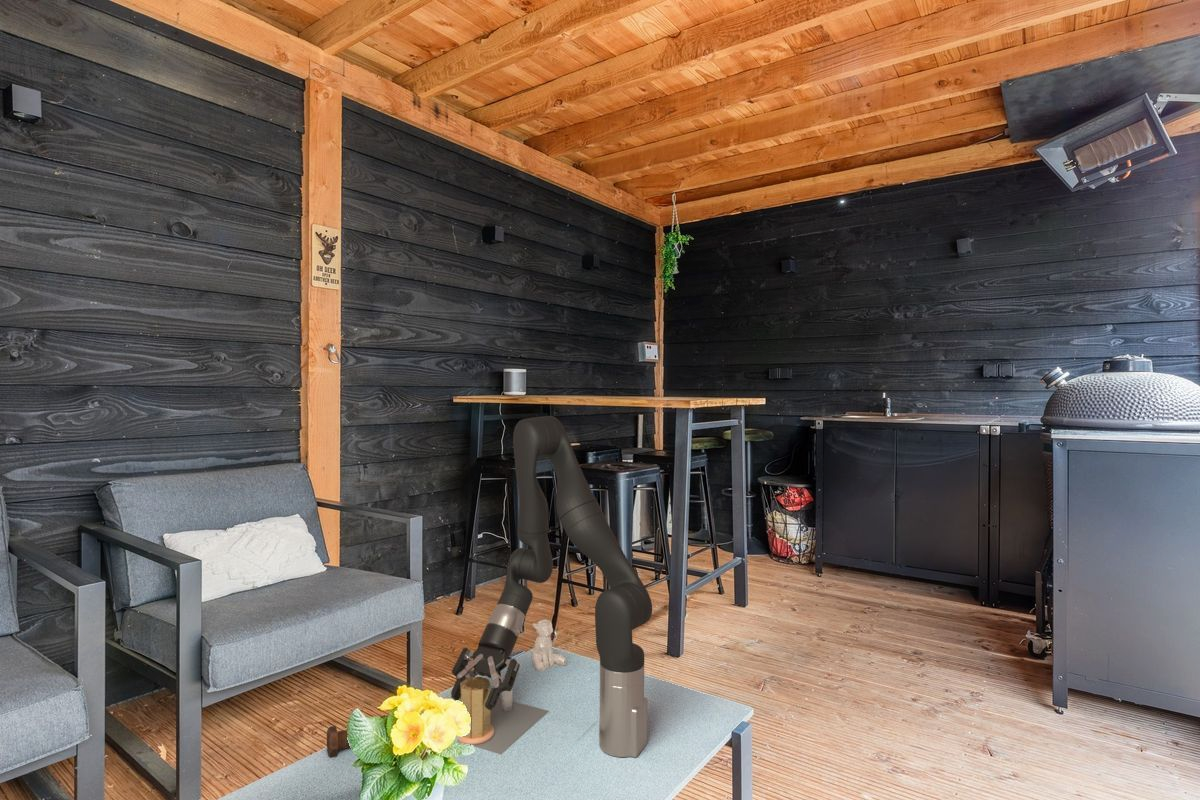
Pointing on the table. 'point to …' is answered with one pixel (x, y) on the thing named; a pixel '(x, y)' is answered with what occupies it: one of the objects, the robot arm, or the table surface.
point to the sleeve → (476, 705)
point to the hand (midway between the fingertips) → (470, 703)
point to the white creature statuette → (545, 648)
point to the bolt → (336, 741)
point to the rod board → (506, 724)
